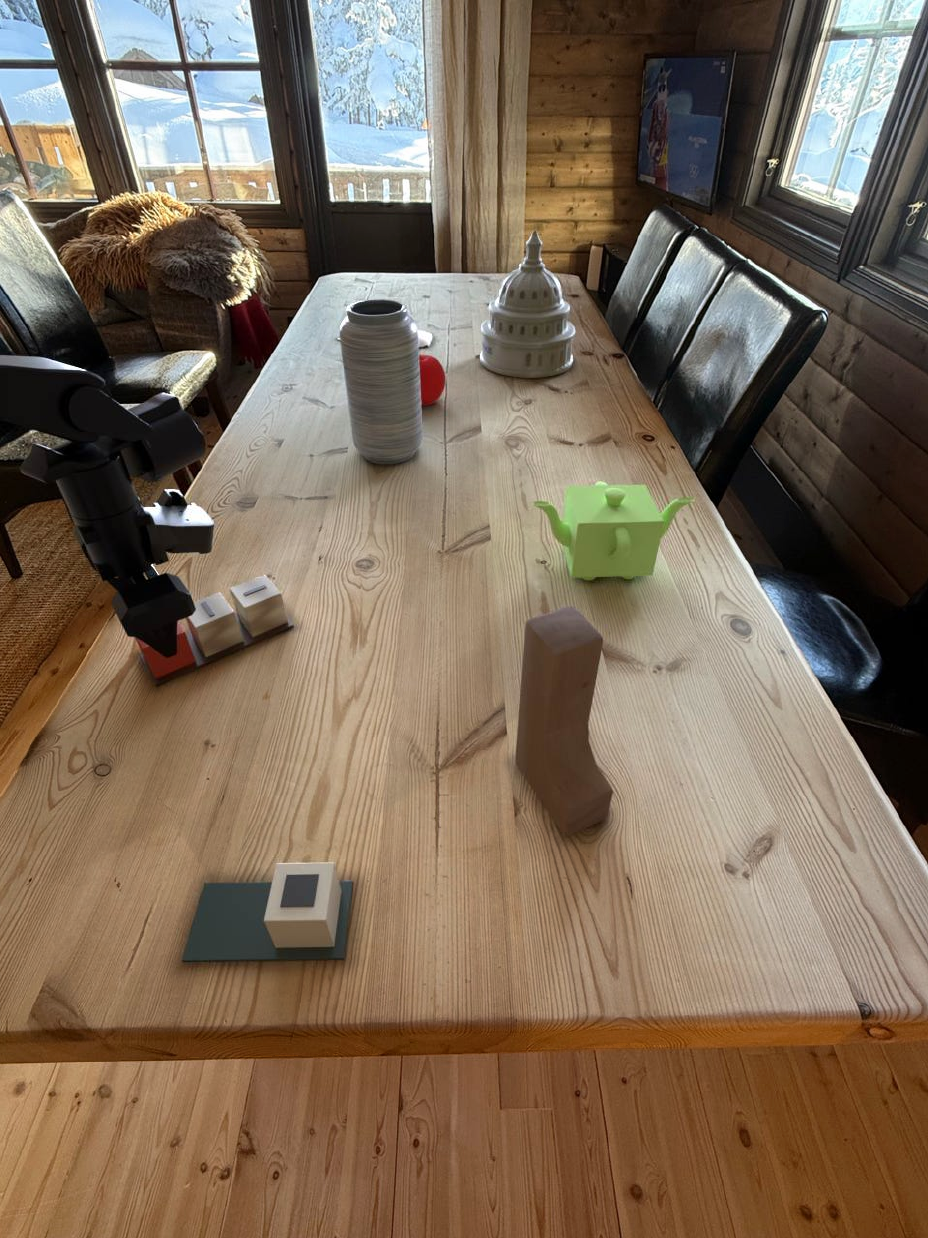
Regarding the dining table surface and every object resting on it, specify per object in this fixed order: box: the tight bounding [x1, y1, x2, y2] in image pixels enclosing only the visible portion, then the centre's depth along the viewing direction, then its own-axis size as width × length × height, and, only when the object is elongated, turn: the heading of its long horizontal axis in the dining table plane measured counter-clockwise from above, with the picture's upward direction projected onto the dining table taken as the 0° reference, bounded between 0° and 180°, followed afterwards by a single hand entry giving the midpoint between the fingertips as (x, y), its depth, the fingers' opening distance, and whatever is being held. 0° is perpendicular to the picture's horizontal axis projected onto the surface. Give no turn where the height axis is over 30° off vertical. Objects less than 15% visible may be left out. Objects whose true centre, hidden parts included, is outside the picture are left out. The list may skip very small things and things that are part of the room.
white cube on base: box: [180, 862, 354, 964], centre depth 49 cm, size 12×6×5 cm, turn 91°
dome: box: [479, 229, 576, 379], centre depth 135 cm, size 20×25×20 cm
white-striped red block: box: [134, 621, 196, 679], centre depth 71 cm, size 4×4×4 cm
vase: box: [338, 298, 424, 466], centre depth 103 cm, size 12×12×23 cm
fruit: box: [419, 354, 446, 407], centre depth 123 cm, size 9×9×10 cm
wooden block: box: [514, 605, 614, 838], centre depth 54 cm, size 9×4×18 cm, turn 26°
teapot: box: [531, 481, 696, 581], centre depth 83 cm, size 15×13×11 cm
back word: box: [138, 574, 295, 688], centre depth 74 cm, size 16×6×5 cm, turn 127°
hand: (157, 631), depth 70 cm, fingers open, 9 cm apart
